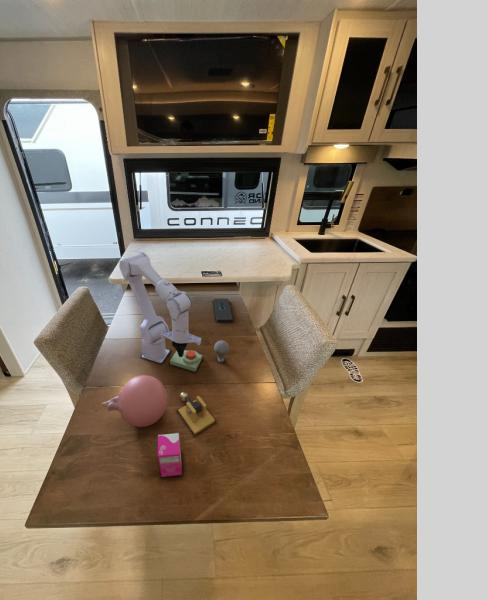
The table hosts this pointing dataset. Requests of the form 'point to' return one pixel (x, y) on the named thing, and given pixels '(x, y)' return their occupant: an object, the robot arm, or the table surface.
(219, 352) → the light bulb
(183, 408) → the switch bracket
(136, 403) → the balloon
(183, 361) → the button block
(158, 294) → the robot arm
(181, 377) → the table surface
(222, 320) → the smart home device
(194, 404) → the lever
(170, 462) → the supplement box
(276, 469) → the table surface
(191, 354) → the button
